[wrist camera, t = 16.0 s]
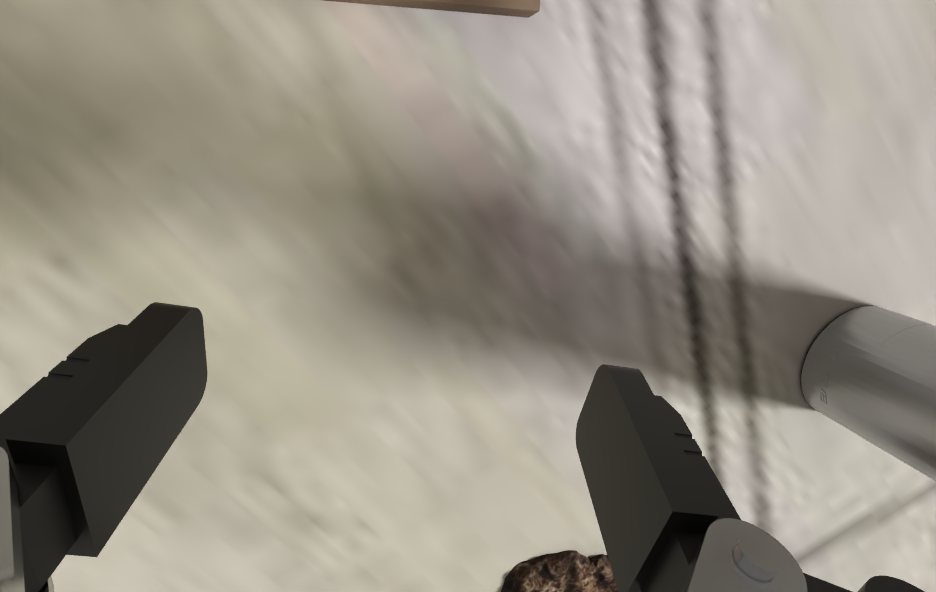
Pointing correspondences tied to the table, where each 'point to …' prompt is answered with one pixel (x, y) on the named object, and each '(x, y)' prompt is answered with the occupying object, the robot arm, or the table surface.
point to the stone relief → (562, 574)
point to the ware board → (464, 5)
